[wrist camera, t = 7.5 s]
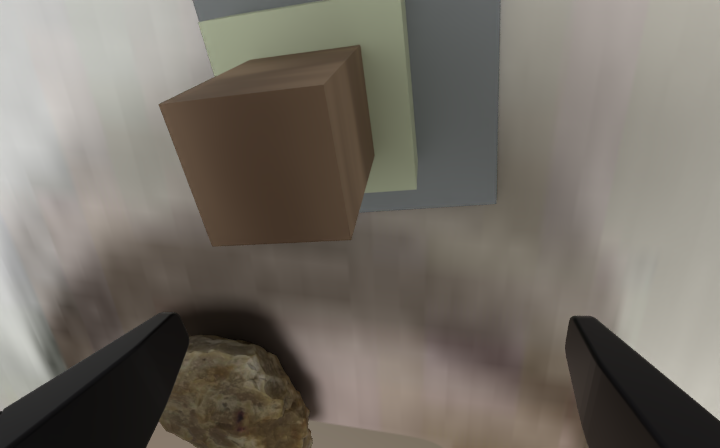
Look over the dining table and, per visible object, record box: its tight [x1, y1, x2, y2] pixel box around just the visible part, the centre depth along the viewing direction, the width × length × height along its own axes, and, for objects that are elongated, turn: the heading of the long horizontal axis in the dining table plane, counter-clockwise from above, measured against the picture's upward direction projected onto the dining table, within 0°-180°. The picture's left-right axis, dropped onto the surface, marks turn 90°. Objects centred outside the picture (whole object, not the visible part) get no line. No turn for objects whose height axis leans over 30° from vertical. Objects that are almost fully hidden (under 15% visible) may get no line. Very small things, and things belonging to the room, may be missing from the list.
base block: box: [198, 0, 418, 193], centre depth 17 cm, size 7×7×3 cm
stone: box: [159, 335, 313, 448], centre depth 27 cm, size 13×8×8 cm
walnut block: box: [159, 45, 375, 246], centre depth 13 cm, size 4×4×6 cm
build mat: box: [193, 0, 500, 212], centre depth 18 cm, size 12×12×1 cm
